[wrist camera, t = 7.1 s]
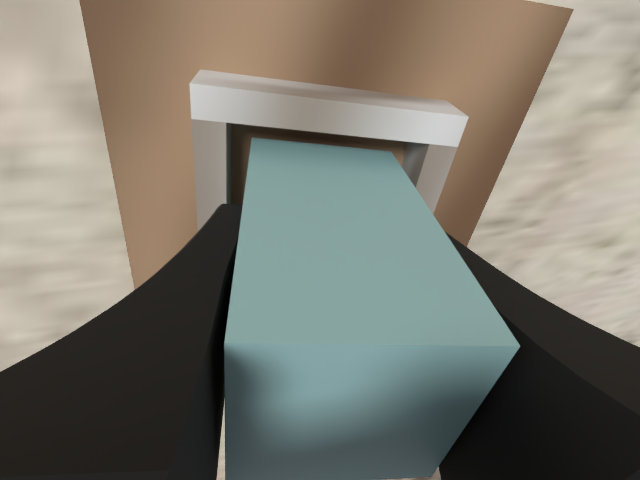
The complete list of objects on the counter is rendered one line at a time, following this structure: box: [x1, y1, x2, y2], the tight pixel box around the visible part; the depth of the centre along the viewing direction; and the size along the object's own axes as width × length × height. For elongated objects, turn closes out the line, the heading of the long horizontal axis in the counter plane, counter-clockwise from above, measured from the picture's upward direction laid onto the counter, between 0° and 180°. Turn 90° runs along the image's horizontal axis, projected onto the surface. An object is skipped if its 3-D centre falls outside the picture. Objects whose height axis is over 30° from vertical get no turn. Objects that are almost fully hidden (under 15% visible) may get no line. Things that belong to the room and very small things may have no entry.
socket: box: [80, 0, 574, 289], centre depth 12 cm, size 12×12×2 cm
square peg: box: [224, 137, 520, 480], centre depth 9 cm, size 4×4×7 cm
